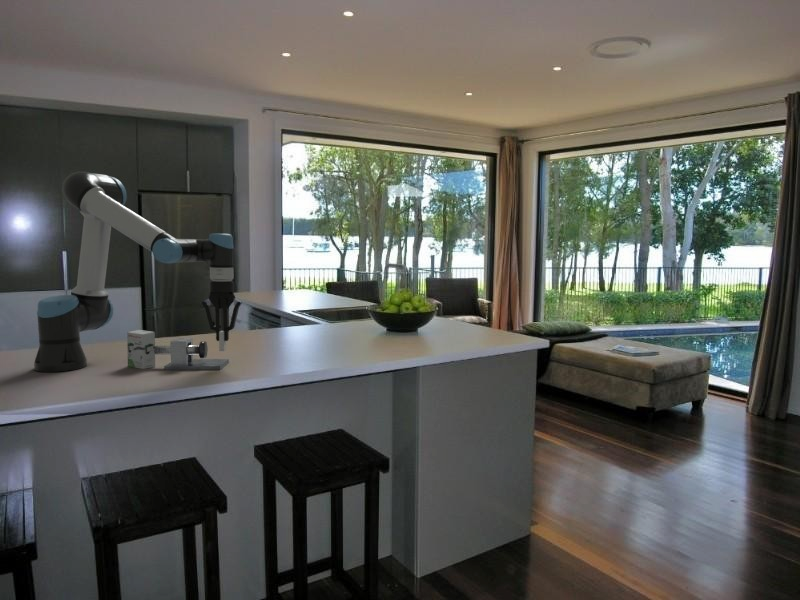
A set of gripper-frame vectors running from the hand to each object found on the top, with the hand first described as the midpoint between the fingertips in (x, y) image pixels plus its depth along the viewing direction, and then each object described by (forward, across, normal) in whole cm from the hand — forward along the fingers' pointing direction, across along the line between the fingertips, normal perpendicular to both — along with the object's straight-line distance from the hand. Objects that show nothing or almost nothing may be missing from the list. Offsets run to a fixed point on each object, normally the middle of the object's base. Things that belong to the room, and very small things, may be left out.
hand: (222, 350), depth 201 cm
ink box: (+6, -27, 0) cm, 27 cm away
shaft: (+3, -14, 0) cm, 14 cm away
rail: (+5, -8, 0) cm, 10 cm away
